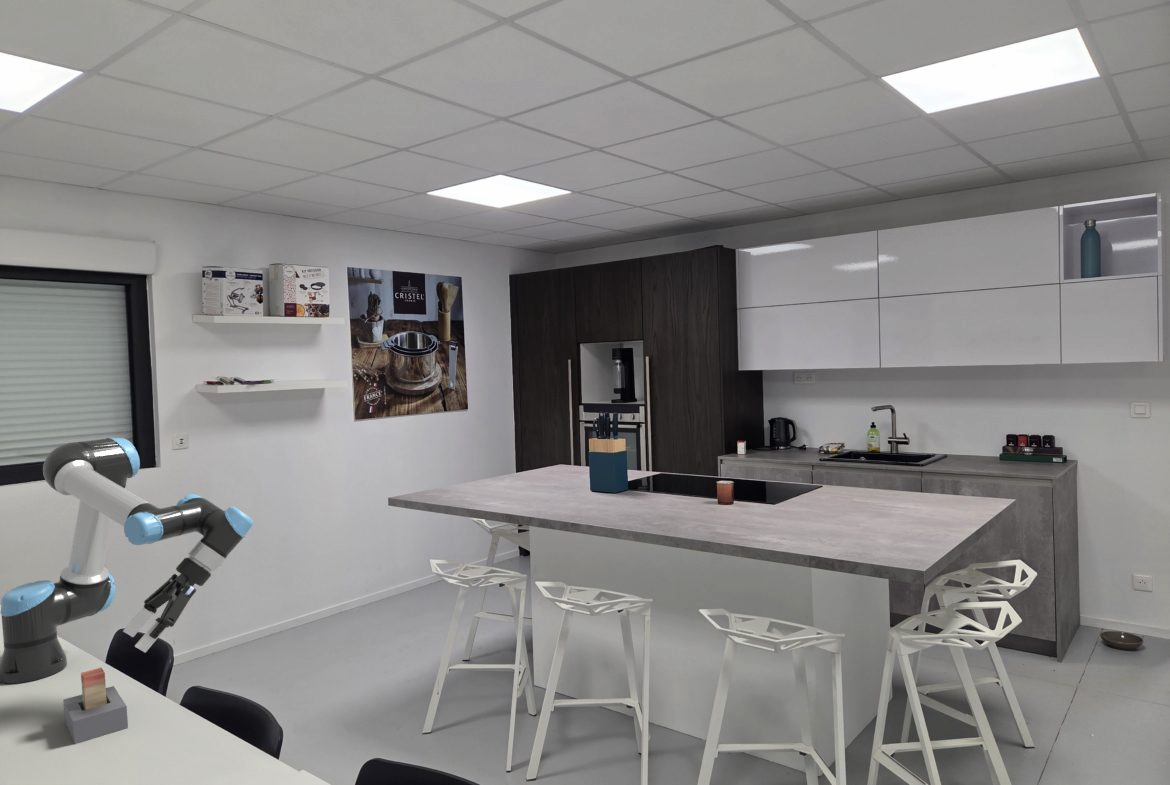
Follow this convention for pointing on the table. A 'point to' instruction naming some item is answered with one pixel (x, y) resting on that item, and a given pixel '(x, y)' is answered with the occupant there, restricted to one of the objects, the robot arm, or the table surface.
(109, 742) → the table surface
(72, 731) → the socket block
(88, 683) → the plug peg
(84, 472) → the robot arm
